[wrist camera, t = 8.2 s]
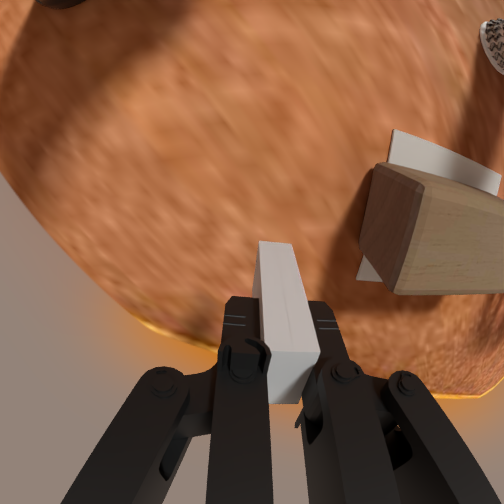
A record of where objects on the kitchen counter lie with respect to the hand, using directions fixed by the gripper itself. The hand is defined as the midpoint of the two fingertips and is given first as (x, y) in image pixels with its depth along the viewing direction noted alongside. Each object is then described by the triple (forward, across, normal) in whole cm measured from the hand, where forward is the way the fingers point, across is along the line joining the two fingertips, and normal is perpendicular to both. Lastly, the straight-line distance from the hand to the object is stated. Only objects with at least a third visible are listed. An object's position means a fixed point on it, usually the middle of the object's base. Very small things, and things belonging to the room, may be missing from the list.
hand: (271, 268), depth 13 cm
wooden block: (+10, +11, 0) cm, 15 cm away
